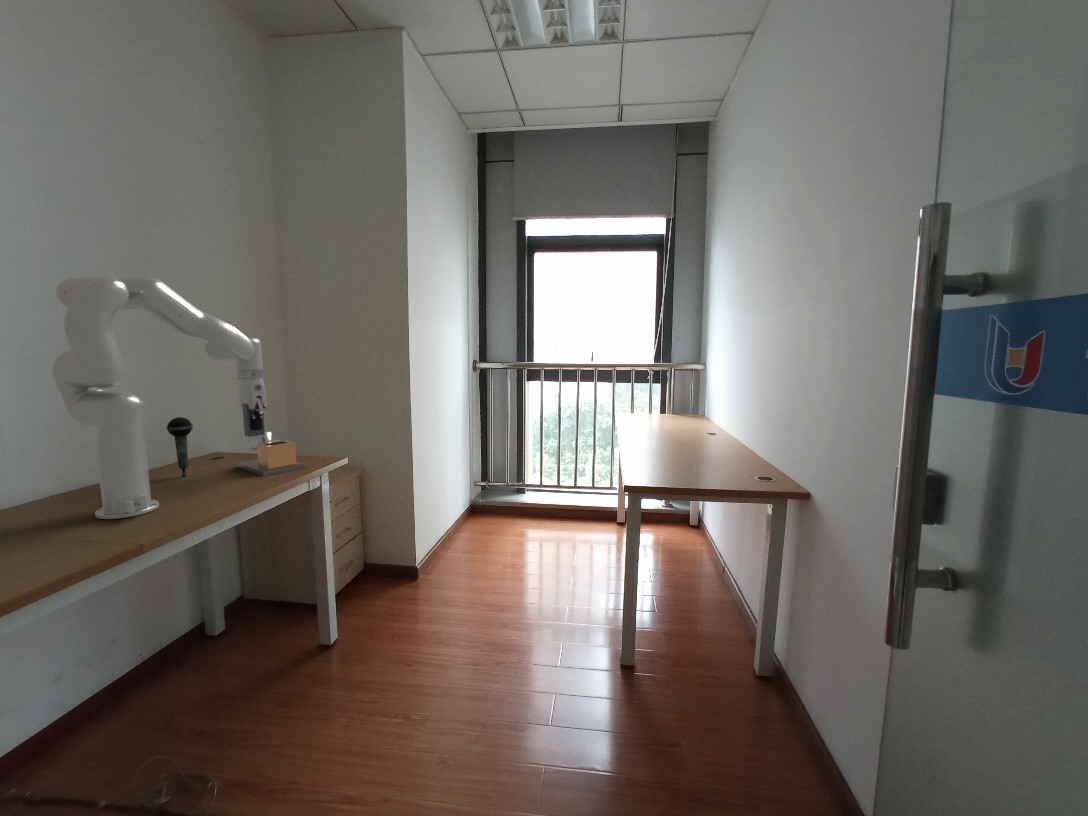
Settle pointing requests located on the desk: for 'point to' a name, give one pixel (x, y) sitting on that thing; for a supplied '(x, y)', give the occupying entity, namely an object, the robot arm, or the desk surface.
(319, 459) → the desk surface
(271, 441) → the orange slotted box
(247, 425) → the grey rectangular block
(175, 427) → the microphone
